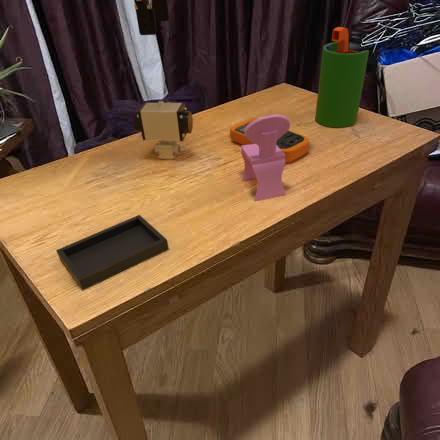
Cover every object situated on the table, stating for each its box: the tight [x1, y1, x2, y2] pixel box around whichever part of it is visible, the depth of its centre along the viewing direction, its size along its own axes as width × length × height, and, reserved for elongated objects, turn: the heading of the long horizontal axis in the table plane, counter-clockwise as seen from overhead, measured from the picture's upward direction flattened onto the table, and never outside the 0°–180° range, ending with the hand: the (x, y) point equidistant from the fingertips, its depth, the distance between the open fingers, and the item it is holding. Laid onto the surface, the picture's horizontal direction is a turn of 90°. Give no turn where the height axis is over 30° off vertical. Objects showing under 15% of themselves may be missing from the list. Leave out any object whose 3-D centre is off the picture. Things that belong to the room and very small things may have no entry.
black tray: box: [55, 214, 169, 291], centre depth 71 cm, size 16×10×2 cm, turn 126°
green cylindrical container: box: [314, 26, 370, 128], centre depth 97 cm, size 10×9×20 cm
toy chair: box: [240, 114, 291, 202], centre depth 79 cm, size 8×9×15 cm
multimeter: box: [229, 117, 310, 163], centre depth 95 cm, size 9×18×3 cm, turn 42°
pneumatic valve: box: [133, 100, 194, 161], centre depth 92 cm, size 6×12×12 cm, turn 80°
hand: (155, 27), depth 81 cm, fingers open, 9 cm apart
